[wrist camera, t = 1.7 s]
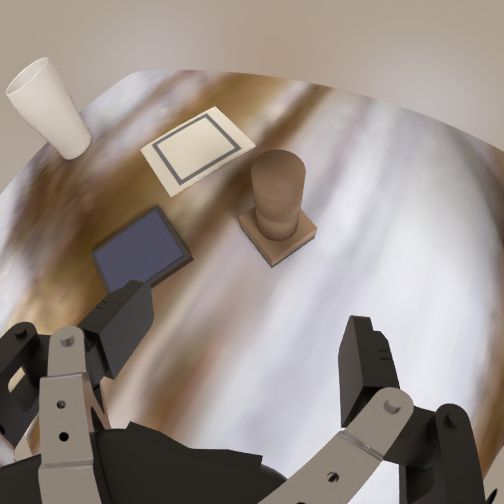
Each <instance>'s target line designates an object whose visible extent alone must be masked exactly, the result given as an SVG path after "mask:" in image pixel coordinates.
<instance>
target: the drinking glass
mask: <svg viewBox="0 0 504 504" xmlns="http://www.w3.org/2000/svg"><path fill="white" fill-rule="evenodd" d="M6 96H7V97H8V99H9V100H10V102H11V103H12V105H13V106H14V107H15V109H16V110H17V111H18V112H19V114H20V115H21V116H22V117H23V118H24V119H25V120H26V121H27V122H28V123H29V124H30V125H31V126H32V127H33V128H34V129H35V130H36V131H37V132H38V133H39V134H40V135H42V137H43V138H44V139H45V140H47V142H49V143H50V144H51V145H52V146H53V147H54V148H55V149H56V150H57V151H58V152H59V154H60V155H61V156H62V157H63V158H64V159H67V160H72V159H75V158H77V157H79V156H80V155H81V154H83V153H84V152H85V151H86V150H87V148H88V147H89V145H90V143H91V139H92V137H91V133H90V131H89V130H88V128H87V127H86V125H85V124H84V122H83V120H82V118H81V116H80V114H79V112H78V111H77V109H76V107H75V105H74V103H73V101H72V99H71V97H70V95H69V93H68V91H67V88H66V86H65V84H64V82H63V81H62V79H61V77H60V75H59V73H58V72H57V70H56V69H55V67H54V66H53V64H52V63H51V61H50V60H49V58H47V57H44V58H41V59H39V60H37V61H35V62H33V63H32V64H30V65H29V66H28V67H26V68H25V69H24V70H23V71H21V72H20V73H19V74H18V75H17V76H16V77H15V78H14V80H13V81H12V82H11V83H10V85H9V86H8V88H7V90H6Z"/></svg>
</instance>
